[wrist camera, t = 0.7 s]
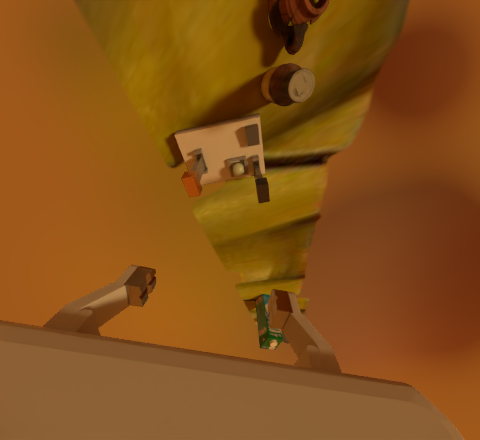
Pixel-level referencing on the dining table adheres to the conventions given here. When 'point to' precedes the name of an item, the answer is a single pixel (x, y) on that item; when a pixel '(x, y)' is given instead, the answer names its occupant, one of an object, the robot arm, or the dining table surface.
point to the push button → (238, 169)
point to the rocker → (252, 134)
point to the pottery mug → (294, 20)
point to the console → (221, 148)
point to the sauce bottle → (287, 84)
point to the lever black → (261, 184)
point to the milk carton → (266, 325)
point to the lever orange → (194, 177)
